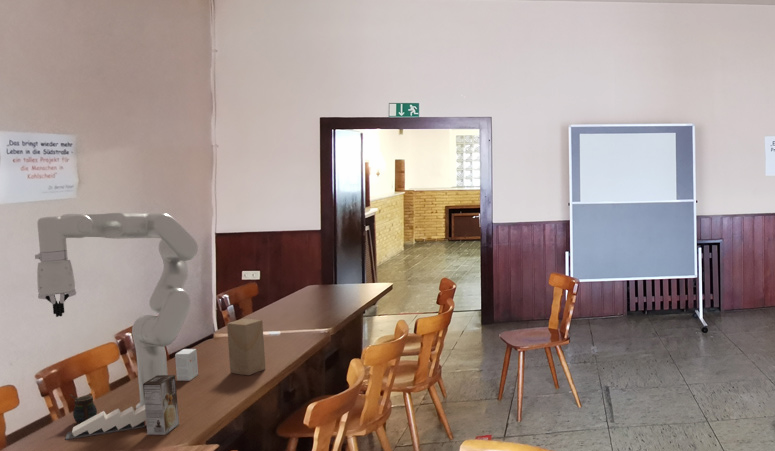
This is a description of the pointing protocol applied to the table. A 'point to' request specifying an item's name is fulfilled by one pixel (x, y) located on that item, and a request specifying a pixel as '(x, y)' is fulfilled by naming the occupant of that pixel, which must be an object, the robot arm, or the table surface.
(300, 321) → the table surface
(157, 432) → the coffee box
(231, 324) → the wooden block
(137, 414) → the domino
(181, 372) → the small box
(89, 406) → the mate gourd
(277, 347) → the table surface
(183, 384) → the table surface
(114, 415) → the domino
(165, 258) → the robot arm
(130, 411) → the domino
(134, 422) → the domino
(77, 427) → the domino
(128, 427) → the mat
